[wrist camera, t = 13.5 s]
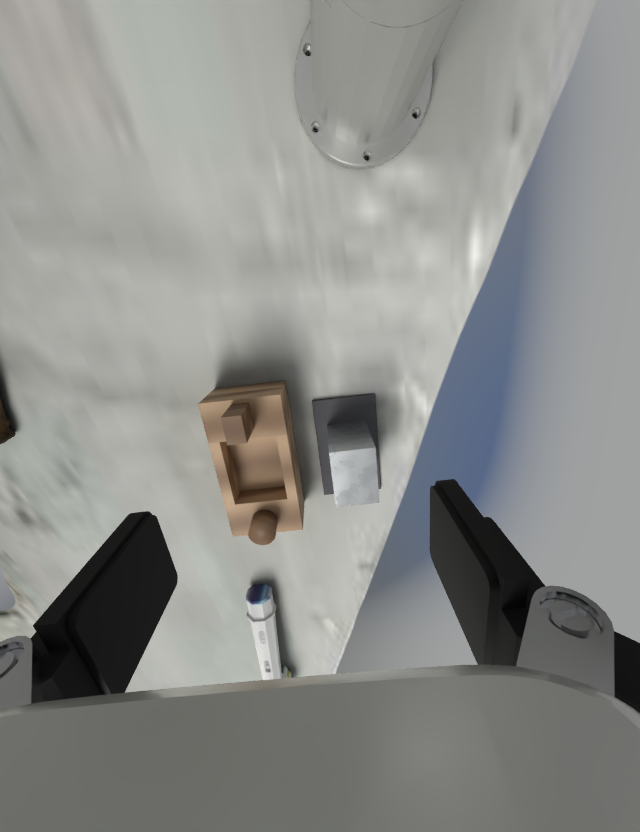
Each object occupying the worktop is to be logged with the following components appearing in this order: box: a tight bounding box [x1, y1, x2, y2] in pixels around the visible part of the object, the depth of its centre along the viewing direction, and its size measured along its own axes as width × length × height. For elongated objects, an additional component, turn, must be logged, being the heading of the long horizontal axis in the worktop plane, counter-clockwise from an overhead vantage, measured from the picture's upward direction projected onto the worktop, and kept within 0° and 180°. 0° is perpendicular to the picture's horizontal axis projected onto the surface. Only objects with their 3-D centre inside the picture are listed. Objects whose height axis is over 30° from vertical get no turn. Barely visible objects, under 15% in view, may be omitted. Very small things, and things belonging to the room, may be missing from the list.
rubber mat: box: [312, 394, 381, 495], centre depth 43 cm, size 14×8×1 cm, turn 7°
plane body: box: [198, 381, 304, 545], centre depth 39 cm, size 18×9×10 cm, turn 7°
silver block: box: [327, 420, 379, 507], centre depth 39 cm, size 7×5×8 cm
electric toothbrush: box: [246, 584, 292, 680], centre depth 54 cm, size 5×7×25 cm
